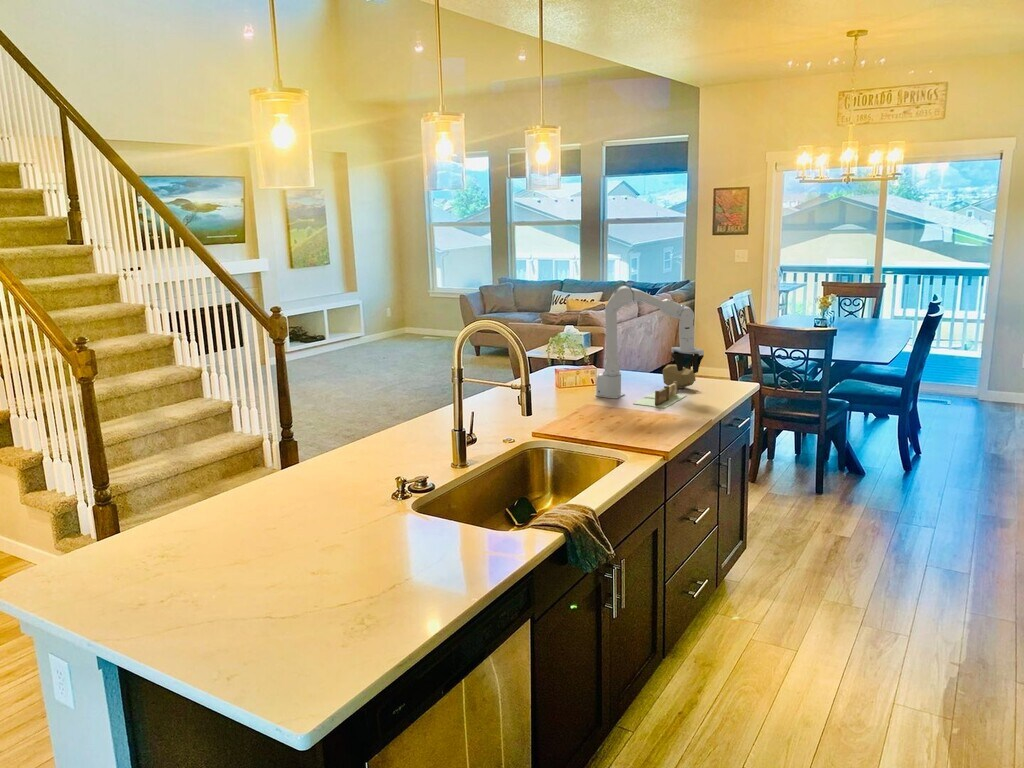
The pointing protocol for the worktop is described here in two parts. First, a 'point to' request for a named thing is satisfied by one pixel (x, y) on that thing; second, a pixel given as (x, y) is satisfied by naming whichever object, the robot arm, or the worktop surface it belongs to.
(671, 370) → the low-poly potato
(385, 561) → the worktop surface
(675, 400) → the board
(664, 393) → the fixed fence
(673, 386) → the hinged panel
